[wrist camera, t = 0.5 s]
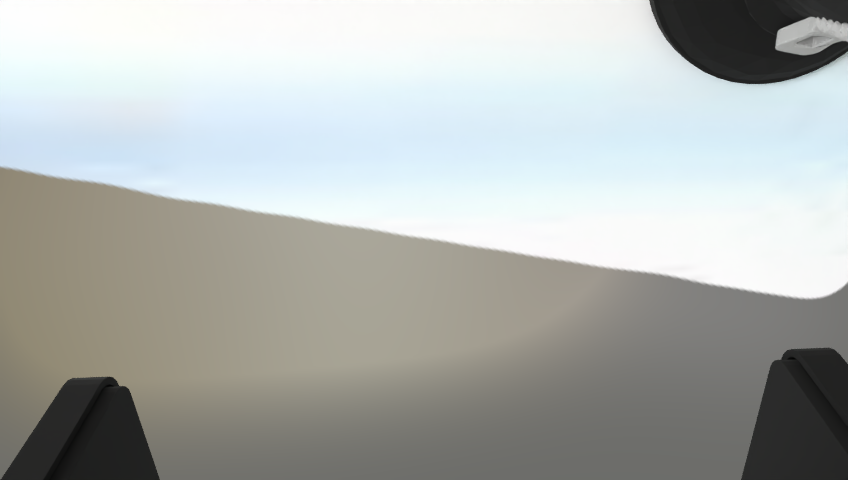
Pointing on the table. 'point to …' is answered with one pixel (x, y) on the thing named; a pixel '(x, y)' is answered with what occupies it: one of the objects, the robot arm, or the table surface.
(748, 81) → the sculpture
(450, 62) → the table surface
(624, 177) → the table surface
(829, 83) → the table surface
